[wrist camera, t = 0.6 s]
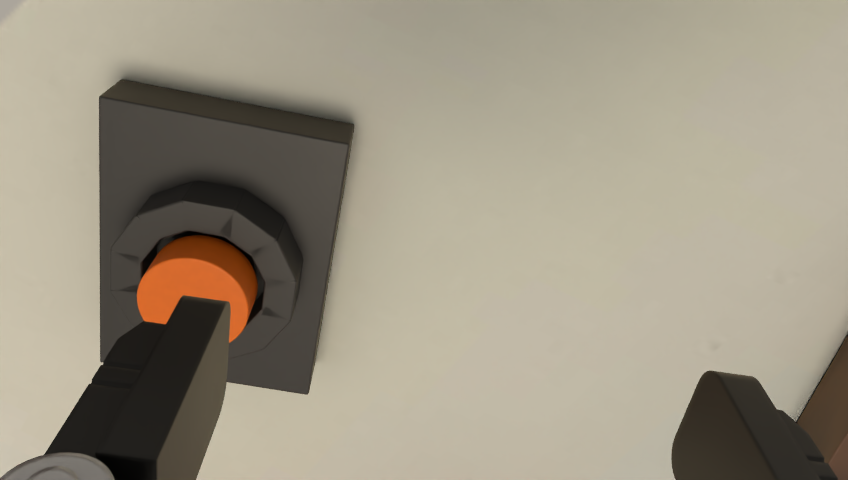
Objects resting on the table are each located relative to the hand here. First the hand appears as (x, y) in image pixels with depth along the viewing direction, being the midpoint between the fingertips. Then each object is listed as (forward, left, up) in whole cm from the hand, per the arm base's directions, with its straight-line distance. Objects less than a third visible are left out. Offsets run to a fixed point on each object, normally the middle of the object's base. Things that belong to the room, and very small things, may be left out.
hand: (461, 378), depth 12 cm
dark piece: (+8, -7, -18) cm, 21 cm away
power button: (+8, -7, -14) cm, 18 cm away
